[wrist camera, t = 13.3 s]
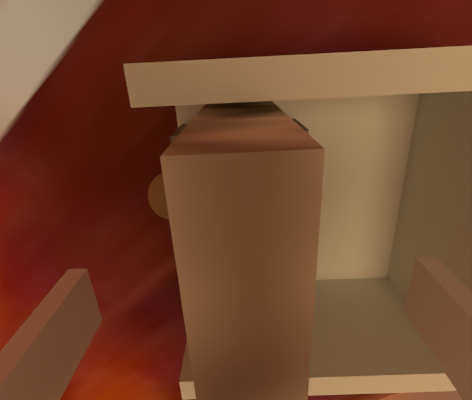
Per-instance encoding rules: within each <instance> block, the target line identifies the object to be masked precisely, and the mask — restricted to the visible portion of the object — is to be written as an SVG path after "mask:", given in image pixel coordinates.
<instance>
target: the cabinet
mask: <svg viewBox="0 0 472 400" xmlns="http://www.w3.org/2000/svg"><path fill="white" fill-rule="evenodd" d="M123 66H124V72H125V77H126V83H127V89H128V94H129V100H130V106H131V108H136V107H156V106H175V107H176V116H177V124H178V129H177V130H176V131H175V132H174V133H173V134H172V135H171V136H170V141H171V143H172V142H173V141H174V140H175V138H176V137H177V136H178V135H179V134H180V133H181V132H182V130H183V129H184V128H185V127H186V126H187V125H188V124H189V122H190V121H191V120H192V119H193V118H194V117H195V116H196V114H197V113H198V112H199V111H200V110H201V109H202V107H203V106H204V105H205V104H217V103H237V102H257V101H272V102H273V103H274V104H276V105H277V106H278V107H279V108H280V109H281V110H282V111H283V112H285V113H286V114H287V115H288V116H289V117H290V118H291V119H292V120H293V121H295V122H296V123H297V124H298V125H299V126H300V127H301V128H302V129H303V130H305V131H306V132H307V133H308V134H309V135H310V136H311V137H312V138H314V139H315V140H316V141H317V142H318V143H319V144H320V145H321V146H322V147H324V148H325V156H324V171H323V185H322V200H321V214H320V229H319V243H318V258H317V272H316V287H315V301H314V316H313V331H312V345H311V360H310V374H309V389H308V395H340V394H372V393H404V392H435V391H457V390H456V389H455V387H454V386H453V384H452V383H451V381H450V380H449V378H448V377H447V375H446V374H445V372H444V371H443V369H442V368H441V366H440V365H439V363H438V362H437V360H436V359H435V357H434V356H433V354H432V353H431V351H430V350H429V348H428V347H427V345H426V344H425V342H424V341H423V339H422V338H421V336H420V335H419V333H418V332H417V330H416V329H415V327H414V326H413V324H412V323H411V321H410V320H409V318H408V317H407V315H406V314H405V312H404V311H403V310H404V306H405V301H406V297H407V293H408V288H409V284H410V280H411V275H412V271H413V267H414V262H415V258H416V257H437V258H438V259H439V260H440V261H441V262H442V263H443V264H444V265H445V266H446V267H447V268H448V269H449V270H450V271H451V272H452V273H453V274H454V275H455V276H456V277H457V278H458V279H459V280H460V281H461V282H462V283H463V284H464V285H465V286H466V287H467V288H468V289H469V290H470V291H471V292H472V46H455V47H436V48H417V49H397V50H378V51H359V52H340V53H321V54H302V55H282V56H263V57H244V58H225V59H206V60H187V61H168V62H148V63H129V64H123ZM179 383H180V389H181V395H182V399H196V395H195V389H194V382H193V375H192V369H191V362H190V355H189V348H188V342H186V348H185V353H184V359H183V364H182V370H181V375H180V381H179Z"/></svg>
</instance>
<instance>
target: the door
mask: <svg viewBox="0 0 472 400" xmlns="http://www.w3.org/2000/svg"><path fill="white" fill-rule="evenodd" d="M324 156H325V148H324V147H322V146H321V145H320V144H319V143H318V142H317V141H316V140H315V139H314V138H312V137H311V136H310V135H309V134H308V133H307V132H306V131H305V130H303V129H302V128H301V127H300V126H299V125H298V124H297V123H296V122H295V121H293V120H292V119H291V118H290V117H289V116H288V115H287V114H286V113H285V112H283V111H282V110H281V109H280V108H279V107H278V106H277V105H276V104H274V103H273V102H272V101H257V102H237V103H217V104H205V105H204V106H203V107H202V109H201V110H200V111H199V112H198V113H197V114H196V116H195V117H194V118H193V119H192V120H191V121H190V122H189V124H188V125H187V126H186V127H185V128H184V129H183V130H182V132H181V133H180V134H179V135H178V136H177V137H176V138H175V140H174V141H173V142H172V143H171V144H170V145H169V146H168V148H167V149H166V150H165V151H164V152H163V153H162V154H161V156H160V161H161V168H162V173H161V174H159V175H158V176H156V177H155V178H154V179H153V180H152V182H151V184H150V186H149V188H148V202H149V205H150V207H151V208H152V210H153V211H154V212H155V213H156V214H157V215H159V216H160V217H162V218H165V219H169V221H170V228H171V235H172V242H173V248H174V255H175V262H176V268H177V275H178V282H179V288H180V295H181V302H182V308H183V315H184V322H185V328H186V335H187V342H188V348H189V355H190V362H191V369H192V375H193V382H194V389H195V395H196V400H308V389H309V374H310V360H311V345H312V331H313V316H314V301H315V287H316V272H317V258H318V243H319V229H320V214H321V200H322V185H323V171H324Z"/></svg>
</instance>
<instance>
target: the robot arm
mask: <svg viewBox="0 0 472 400" xmlns="http://www.w3.org/2000/svg"><path fill="white" fill-rule="evenodd" d="M403 311H404V312H405V314H406V315H407V317H408V318H409V320H410V321H411V323H412V324H413V326H414V327H415V329H416V330H417V332H418V333H419V335H420V336H421V338H422V339H423V341H424V342H425V344H426V345H427V347H428V348H429V350H430V351H431V353H432V354H433V356H434V357H435V359H436V360H437V362H438V363H439V365H440V366H441V368H442V369H443V371H444V372H445V374H446V375H447V377H448V378H449V380H450V381H451V383H452V384H453V386H454V387H455V389H456V390H457V392H458V393H459V395H460V396H461V398H462V399H463V400H472V292H471V291H470V290H469V289H468V288H467V287H466V286H465V285H464V284H463V283H462V282H461V281H460V280H459V279H458V278H457V277H456V276H455V275H454V274H453V273H452V272H451V271H450V270H449V269H448V268H447V267H446V266H445V265H444V264H443V263H442V262H441V261H440V260H439V259H438V258H437V257H416V258H415V262H414V267H413V271H412V275H411V280H410V284H409V288H408V293H407V297H406V301H405V306H404V310H403ZM101 321H102V317H101V314H100V311H99V307H98V304H97V301H96V297H95V294H94V291H93V287H92V284H91V281H90V277H89V274H88V271H87V269H68V270H67V271H66V273H65V274H64V275H63V276H62V278H61V279H60V280H59V281H58V282H57V284H56V285H55V286H54V287H53V288H52V290H51V291H50V292H49V293H48V294H47V296H46V297H45V298H44V299H43V300H42V302H41V303H40V304H39V305H38V307H37V308H36V309H35V310H34V311H33V313H32V314H31V315H30V316H29V317H28V319H27V320H26V321H25V322H24V323H23V325H22V326H21V327H20V328H19V330H18V331H17V332H16V333H15V334H14V336H13V337H12V338H11V339H10V340H9V342H8V343H7V344H6V345H5V346H4V348H3V349H2V350H1V351H0V400H60V399H61V397H62V395H63V393H64V391H65V389H66V387H67V385H68V384H69V382H70V380H71V378H72V376H73V374H74V372H75V370H76V368H77V367H78V365H79V363H80V361H81V359H82V357H83V355H84V353H85V352H86V350H87V348H88V346H89V344H90V342H91V340H92V338H93V336H94V335H95V333H96V331H97V329H98V327H99V325H100V323H101Z"/></svg>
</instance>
